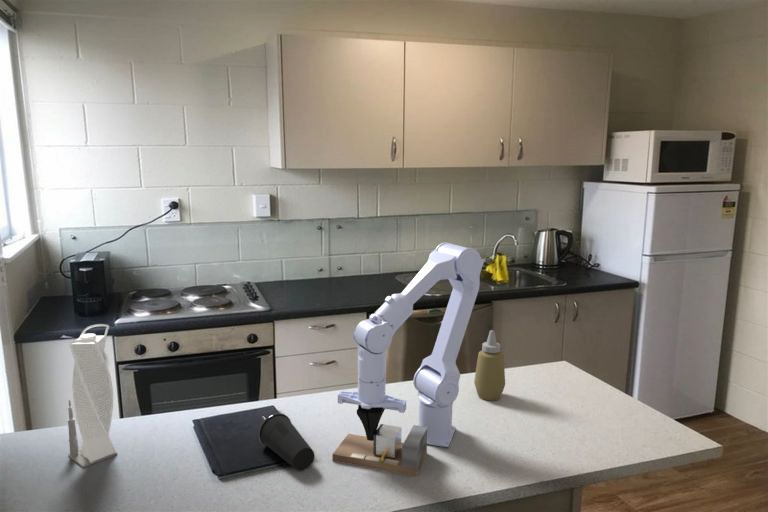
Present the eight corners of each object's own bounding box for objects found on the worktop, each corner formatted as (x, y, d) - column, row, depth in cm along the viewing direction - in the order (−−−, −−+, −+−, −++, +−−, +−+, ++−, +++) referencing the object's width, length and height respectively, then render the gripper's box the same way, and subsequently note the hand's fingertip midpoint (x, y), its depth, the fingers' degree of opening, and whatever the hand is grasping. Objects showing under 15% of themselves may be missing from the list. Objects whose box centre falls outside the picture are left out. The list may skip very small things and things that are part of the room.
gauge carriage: (380, 442, 124) (380, 423, 123) (401, 446, 123) (401, 427, 122) (369, 459, 117) (370, 439, 117) (391, 463, 116) (391, 443, 115)
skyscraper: (108, 440, 127) (97, 319, 122) (126, 453, 122) (116, 326, 117) (68, 456, 121) (55, 328, 116) (85, 469, 116) (73, 337, 111)
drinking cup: (326, 445, 118) (283, 405, 134) (297, 438, 114) (256, 398, 129) (310, 480, 118) (269, 436, 133) (280, 474, 113) (241, 429, 129)
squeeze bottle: (481, 404, 147) (484, 337, 144) (468, 391, 155) (471, 327, 152) (510, 401, 149) (513, 334, 146) (496, 388, 157) (499, 325, 154)
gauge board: (348, 439, 129) (348, 414, 128) (426, 453, 124) (427, 427, 122) (332, 460, 120) (332, 434, 119) (416, 475, 115) (416, 448, 114)
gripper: (331, 380, 118) (332, 441, 120) (400, 389, 113) (399, 453, 116) (344, 368, 124) (344, 426, 127) (409, 376, 120) (408, 436, 122)
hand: (371, 438), depth 122 cm, fingers closed
